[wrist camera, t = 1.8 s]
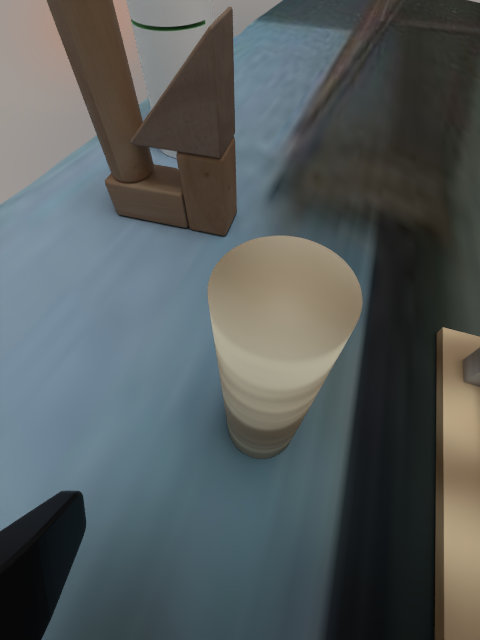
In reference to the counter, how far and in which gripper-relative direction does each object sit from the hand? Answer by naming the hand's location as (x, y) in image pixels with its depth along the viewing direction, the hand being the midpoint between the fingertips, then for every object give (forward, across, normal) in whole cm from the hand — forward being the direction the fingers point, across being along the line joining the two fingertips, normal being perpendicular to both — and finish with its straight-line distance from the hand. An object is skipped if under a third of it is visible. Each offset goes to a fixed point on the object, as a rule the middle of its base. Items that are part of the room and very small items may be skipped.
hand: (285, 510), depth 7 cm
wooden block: (+25, +7, -9) cm, 28 cm away
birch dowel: (+12, 0, +5) cm, 12 cm away
